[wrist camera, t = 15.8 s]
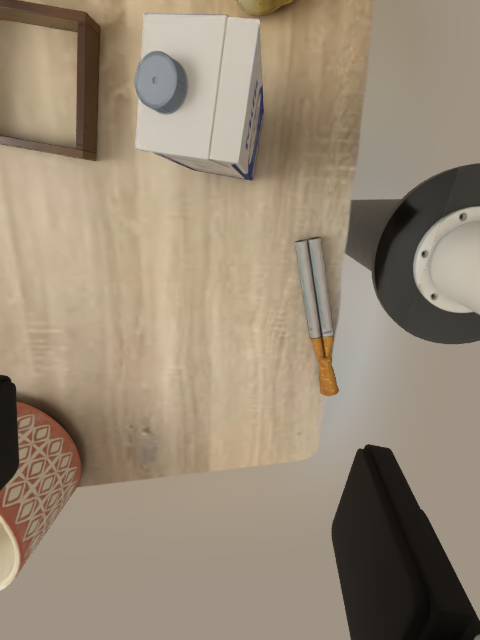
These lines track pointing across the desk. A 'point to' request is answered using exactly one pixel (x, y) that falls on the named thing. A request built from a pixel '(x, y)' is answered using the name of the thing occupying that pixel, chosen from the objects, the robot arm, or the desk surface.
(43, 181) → the desk surface
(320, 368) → the double cigarette
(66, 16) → the tray
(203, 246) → the desk surface
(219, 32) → the milk carton
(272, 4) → the fruit
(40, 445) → the planter
